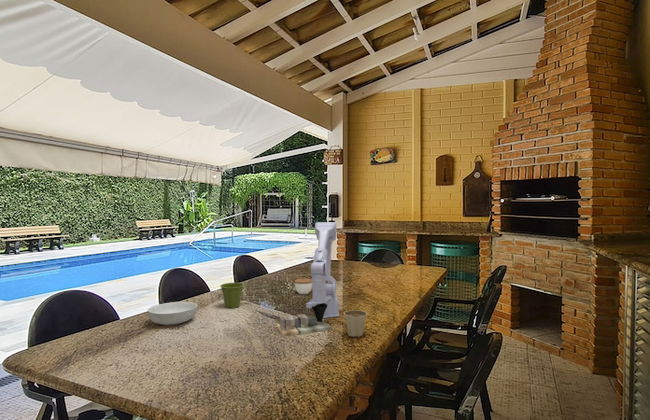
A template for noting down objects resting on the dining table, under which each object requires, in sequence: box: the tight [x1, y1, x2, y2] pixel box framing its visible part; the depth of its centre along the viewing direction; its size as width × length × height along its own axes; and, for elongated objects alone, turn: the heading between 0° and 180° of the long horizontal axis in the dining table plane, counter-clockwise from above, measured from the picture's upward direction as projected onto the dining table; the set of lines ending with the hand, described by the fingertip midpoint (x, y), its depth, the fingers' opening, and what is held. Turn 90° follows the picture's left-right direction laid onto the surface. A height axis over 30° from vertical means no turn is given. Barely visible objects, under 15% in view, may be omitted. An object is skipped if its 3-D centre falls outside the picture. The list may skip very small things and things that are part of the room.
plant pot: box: [219, 282, 245, 309], centre depth 195 cm, size 12×12×11 cm
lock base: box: [276, 313, 332, 337], centre depth 160 cm, size 20×12×5 cm, turn 111°
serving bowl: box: [147, 301, 198, 326], centre depth 170 cm, size 21×21×7 cm
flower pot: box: [343, 309, 368, 338], centre depth 152 cm, size 9×9×9 cm
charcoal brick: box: [294, 315, 317, 327], centre depth 160 cm, size 9×3×3 cm, turn 111°
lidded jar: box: [294, 276, 313, 295], centre depth 224 cm, size 11×11×9 cm
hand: (319, 321), depth 162 cm, fingers closed
